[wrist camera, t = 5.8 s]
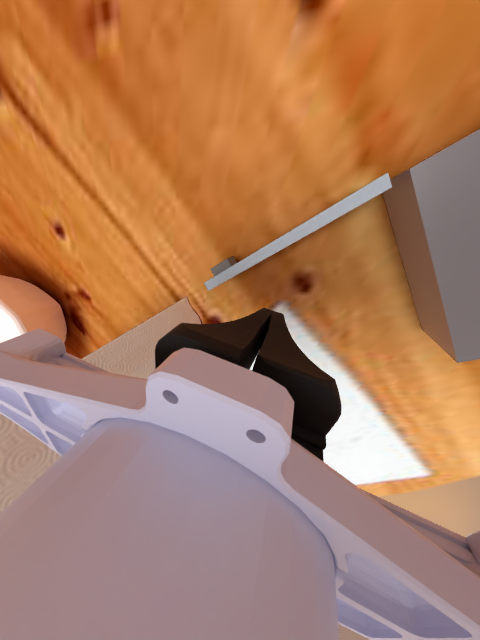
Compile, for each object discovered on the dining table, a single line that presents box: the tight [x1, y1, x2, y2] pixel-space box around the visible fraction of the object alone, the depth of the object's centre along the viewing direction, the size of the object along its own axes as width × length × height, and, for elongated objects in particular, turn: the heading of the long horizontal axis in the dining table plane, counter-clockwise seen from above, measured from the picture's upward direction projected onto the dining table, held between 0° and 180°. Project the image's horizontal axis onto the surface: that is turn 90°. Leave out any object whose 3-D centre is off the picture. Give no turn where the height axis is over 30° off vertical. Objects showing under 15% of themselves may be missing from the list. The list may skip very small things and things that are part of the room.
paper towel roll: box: [0, 297, 201, 513], centre depth 17 cm, size 7×6×21 cm
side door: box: [204, 173, 392, 291], centre depth 16 cm, size 2×14×4 cm, turn 121°
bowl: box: [0, 275, 67, 343], centre depth 32 cm, size 21×21×9 cm
